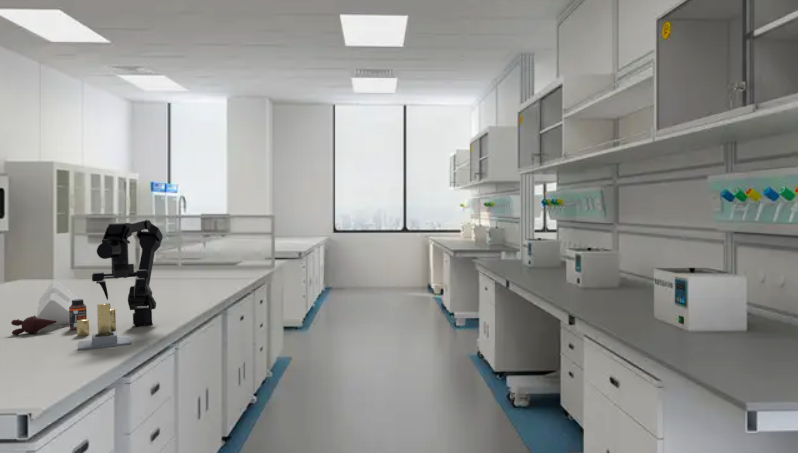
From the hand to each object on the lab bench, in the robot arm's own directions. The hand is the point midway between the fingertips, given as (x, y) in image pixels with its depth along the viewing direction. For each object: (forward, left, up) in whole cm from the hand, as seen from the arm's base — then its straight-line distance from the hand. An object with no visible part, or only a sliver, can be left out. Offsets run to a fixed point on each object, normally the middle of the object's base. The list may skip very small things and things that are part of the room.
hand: (121, 298), depth 216 cm
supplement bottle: (+15, -20, -13) cm, 28 cm away
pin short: (+13, -5, -13) cm, 19 cm away
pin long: (+6, +16, -12) cm, 21 cm away
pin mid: (+4, -9, -13) cm, 16 cm away
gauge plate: (+6, +16, -13) cm, 21 cm away
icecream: (+30, -20, -13) cm, 38 cm away
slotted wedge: (+23, -37, -13) cm, 46 cm away
